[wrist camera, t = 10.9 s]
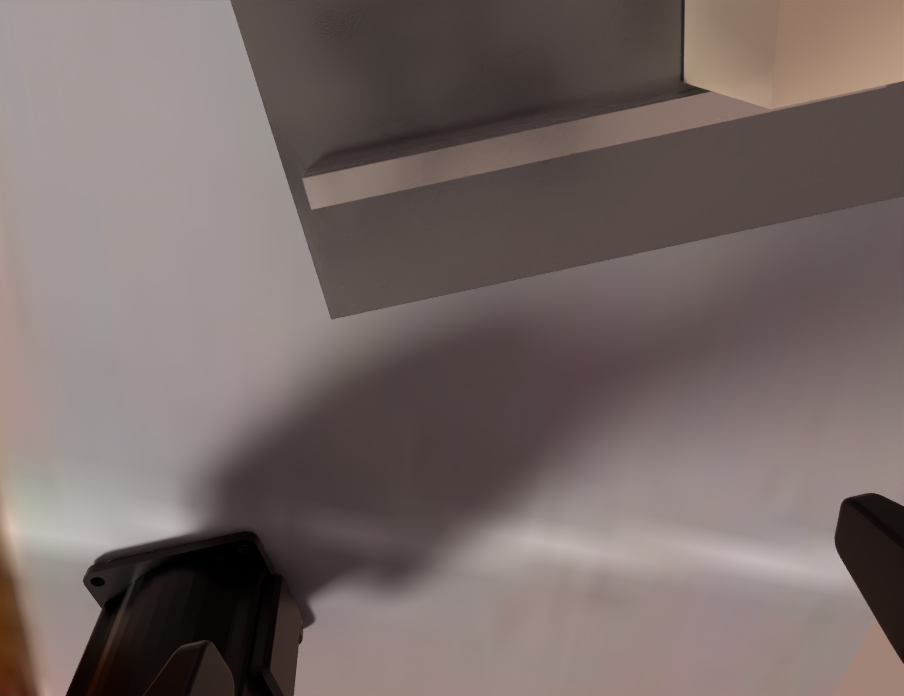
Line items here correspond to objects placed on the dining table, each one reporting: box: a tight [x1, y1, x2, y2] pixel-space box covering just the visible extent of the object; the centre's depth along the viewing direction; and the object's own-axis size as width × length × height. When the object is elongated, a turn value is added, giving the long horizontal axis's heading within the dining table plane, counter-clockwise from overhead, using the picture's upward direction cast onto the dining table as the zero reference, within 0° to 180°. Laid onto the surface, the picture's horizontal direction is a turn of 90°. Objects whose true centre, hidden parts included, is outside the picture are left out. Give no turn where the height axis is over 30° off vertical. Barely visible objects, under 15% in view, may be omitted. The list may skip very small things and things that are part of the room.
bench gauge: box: [231, 0, 904, 319], centre depth 14 cm, size 19×13×5 cm
